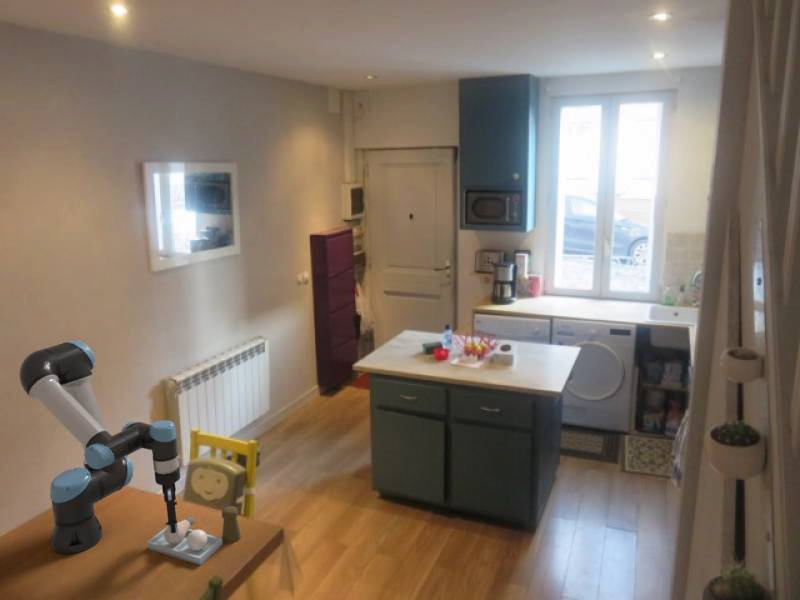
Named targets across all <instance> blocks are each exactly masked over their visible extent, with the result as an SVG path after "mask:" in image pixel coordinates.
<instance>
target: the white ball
mask: <svg viewBox="0 0 800 600" xmlns="http://www.w3.org/2000/svg"><path fill="white" fill-rule="evenodd" d="M193 530H194V531H192V532H191V533H190V534H189V535H188V537H187V545H188V547H189V548H190V549H191V550H194V551H198V550H201V549H202V548H204V547H205V545H206V544H207V535H206V534H207V533H206V532H205V531H204V530H202V529H193Z"/></svg>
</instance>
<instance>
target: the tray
mask: <svg viewBox="0 0 800 600" xmlns="http://www.w3.org/2000/svg"><path fill="white" fill-rule="evenodd" d="M167 527H168V525H166V527H164V529H162V530H161V531H159V532H158V533H157V534H156V535H154V536H153V537H152V538H150V539H149V540H148V541H146V545H147V550H151V551H153V552H158V553H160V554H163V555H166V556H168V557H172V558H176V559H179V560H182V561H185V562H188V563H191V564H194V565H197V566H201V565H203V564H204V563H205V562H206V561H207V560H209V558H210V557H211V556H213V555H214V554H215V553H216V552H217V551H218V550H220V549H221V547H222V546H224V545H223V543H224V542H223V540H222V537H219V536H215V535H212V534H207V533H206V535H207V544H206V545H205V547H204V548H202V549H201V550H198V551H194V550H191V549H190V548H189V547H188V545H187V537H188V535H189V534H190V533H191V532H192V531H194V530H195V529H191V528H189V529H188V530H187V532H186V534H185V537H184V538H183V540H182V541H181V542H180V543H178V544H174V545H173V544H169V543H168V542H166V540H165V538H164V532H165V530H166V528H167Z"/></svg>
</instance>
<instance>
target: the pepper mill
mask: <svg viewBox="0 0 800 600" xmlns="http://www.w3.org/2000/svg"><path fill="white" fill-rule="evenodd" d="M238 515H239V510H238V508H237V507H236V506H233V505H230V506H226V507H224V508H223V509H222V511H221V517H222V519H223V525H222V536H221V538H222V542H223V543H225V544H234V543H236V542H238V541H239V540H240V539H242V538H241V537H242V535H241V530H240V527H239V522H238V521H239V520H238Z"/></svg>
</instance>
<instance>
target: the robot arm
mask: <svg viewBox="0 0 800 600" xmlns="http://www.w3.org/2000/svg"><path fill="white" fill-rule="evenodd" d="M95 366H96V358H95V354H94V353H93V351H92V349H91V348H90V346H88V345H87V343H84V342H83V341H81V340H71V341H66V342H63V343H60V344H57V345H56V344H55V345H54V346H49V347H46V348H43V349H38V350H35V351H34V352H31V353H30V354H29V355H27V356H26V358H24V359H23V361H22V363H21V365H20V367H19V374H18V375H19V381H20V384H21V387H22V389H23V390H24V391H25V393H26V394H27V395H28V396H29V397H30V398H31V399H33V400H38V401H39V402H40V403H41V404H42V406H44V408H46V409H47V410H48V411H49V412H50V413H51V414H52V416H53V417H55V419H56V420H57V421H59V423H61V424H62V426H64V428H65V429H66V430H67V431H68V432H69V433H70V434H71V435H72V436H73V437H74V438H75V439H76V440H77V441H78V442H79V443H80V444H81V445H82V448H83V451H84V460H83V462H82V464H83V466H84V467H74V468H73V469H72V468H70V469H68V470H65V471H63V472H61V473H59V474H58V475H57V476H56V477H54V478H53V480H52V481H51V483H50V487H49V489H50V493H49V494H50V495H49V496H50V497H49V498H50V500H51V506H52V513H53V521H54V527H53V533H52V535H51V538H50V543H51V549H52V550H53V551H54V552H55V553H58V554H63V555H69V554H70V555H71V554H77V553H80V552H83V551H86V550H88V549H90V548H92V547H94V546H96V544H98V543H99V542H100V541H101V539H102V538H103V536H104V534H103V526H102V524H101V523H100V521H99V519H98V517H97V515H96V514H95V507H94V506H95V504H97V503H98V502H99V501H102V500H103V499H105V498H107V497H108V496H111V495H113V494H114V493H116V492H119V491H121V490H122V489H123V488H124V487H126V486H128V485H129V484H130V483H131V481H132V479H133V476H134V467H133V463H132V460H131V459H130V457H128V456H129V455H131V454H133V453H134V452H137V451H139V450H141V449H144V450H148V451H151V453H152V464H153V471H154V480H155V484H157V485H159V486H161V489H162V494H163V500H164V502H165V503H166V505H165V506H166V514H167V522H165V525H166V526H168V529H169V538H170V542H172V541H176V540H179V537H178V527H177V523H178V519H177V510H176V509H177V508H176V506H177V505H178V502H177V500H176V499H177V498H176V496H177V495H176V490H177V488H176V483H177V482H178V481H180V478H181V470H180V464H179V462H180V460H181V456H179V452H178V451H179V450H178V440H177V439H178V438H177V437H178V436H177V430H176V425H175V423H174V422H173V421H171V420H168V419H167V420H163V419H162V420H158V421H155V422H153V423H151V424H149V423H145V422H142V421H129V422H128V423H126V424H125V425H124V426H123V427H122V429H121V431H120V432H118V433H115V434H114V435H111V434H110V433H109V432H108V429H107V426H106V424H105V421H104V418H103V415H102V413H101V410H100V407H99V404H98V400H97V398H96V396H95V392H94V390H93V387H92V384H91V379H92V378H93V372H92V370H93V369H94V368H95Z"/></svg>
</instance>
